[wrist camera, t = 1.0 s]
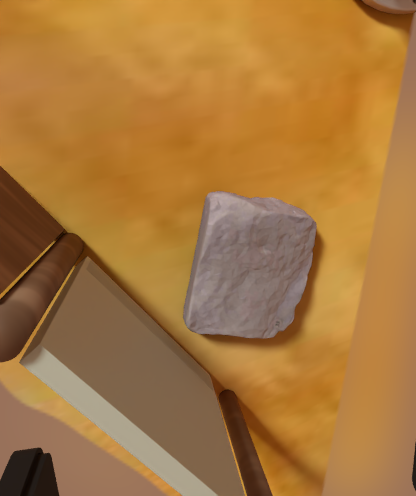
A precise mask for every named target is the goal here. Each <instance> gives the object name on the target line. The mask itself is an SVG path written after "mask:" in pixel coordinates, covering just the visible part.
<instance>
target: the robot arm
mask: <svg viewBox="0 0 416 496" xmlns="http://www.w3.org/2000/svg"><path fill="white" fill-rule="evenodd" d="M361 1H363V2H364V3H365V4H367V5H369V6H371V7H373V8H375V9H377V10H379V11H383V12H387V13H391V14H409V13H414V12H416V0H361ZM412 481H413V485H414V488H415V490H416V444H415V455H414V465H413V474H412ZM0 496H59V492H58V487H57V482H56V477H55V472H54V468H53V462H52V457H51V455H50V453H45V454H43V451H42V449H41V448H33V449H27V450H20V451H15V452H13V454H12V455H11V457H10V460H9V462H8V464H7V466H6V468H5V471H4V473H3V475H2V478H1V480H0Z"/></svg>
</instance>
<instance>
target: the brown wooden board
mask: <svg viewBox="0 0 416 496" xmlns="http://www.w3.org/2000/svg"><path fill="white" fill-rule="evenodd" d="M64 230H65V229H64V228H63V227H62V226H61V225H60V224H59V223H58V222H57V221H56V220H55V219H54V218H53V217H52V216H51V215H50V214H48V213H47V212H46V211H45V210H44V209H43V208H42V207H41V206H40V205H39V204H38V203H37V202H36V201H35V200H34V199H33V198H32V197H31V196H30V195H29V194H28V193H27V192H26V191H25V190H24V189H23V188H22V187H21V186H20V185H19V184H18V183H17V182H16V181H15V180H14V179H13V178H12V177H11V176H10V175H9V174H8V173H7V172H6V171H5V170H4V169H3V168H2V167H1V166H0V294H1V293H2V292H3V291H4V290H5V289H6V288H7V287H8V286H9V285H10V284H11V283H12V282H13V281H14V280H15V279H16V278H17V277H18V276H19V275H20V274H21V273H22V272H23V271H24V270H25V269H26V268H27V267H28V266H29V265H30V264H31V263H32V262H33V261H34V260H35V259H36V258H37V257H38V256H39V255H40V254H41V253H42V252H43V251H44V250H45V249H46V248H47V247H48V246H49V245H50V244H51V243H52V242H53V241H54V240H55V239H56V238H57V237H58V236H59V235H60V234H61V233H62V232H63V231H64ZM83 247H84V244H83V241H82V239H81V238H80V237H79V236H78V235H76V234H73V233H67V234H64V235H62V236H61V237H60V238H59V239H58V240H57V241H56V242H55V243H54V244H53V245H52V246H51V247H50V248H49V249H48V250H47V251H46V252H45V254H44V255H43V256H42V257H41V258H40V259H39V260H38V261H37V262H36V263H35V264H34V265H33V266H32V267H31V268H30V269H29V270H28V271H27V272H26V273H25V274H24V275H23V276H22V277H21V278H20V279H19V281H18V282H17V283H16V284H15V285H14V286H13V287H12V288H11V289H10V290H9V291H8V292H7V293H6V294H5V295H4V296H3V297H2V298H1V299H0V362H6V361H9V360H11V359H13V358H15V357H16V356H17V355H18V354H19V353H20V352H21V350H22V349H23V347H24V346H25V344H26V342H27V341H28V339H29V337H30V336H31V334H32V332H33V331H34V329H35V328H36V326H37V324H38V323H39V321H40V319H41V318H42V316H43V315H44V313H45V311H46V310H47V308H48V306H49V305H50V303H51V301H52V300H53V298H54V297H55V295H56V293H57V292H58V290H59V288H60V287H61V285H62V284H63V282H64V280H65V279H66V277H67V275H68V274H69V272H70V271H71V269H72V267H73V266H74V264H75V262H76V261H77V259H78V257H79V256H80V254H81V253H82V251H83ZM219 402H220V405H221V409H222V412H223V415H224V419H225V422H226V426H227V429H228V432H229V436H230V439H231V443H232V446H233V449H234V453H235V456H236V459H237V463H238V466H239V470H240V473H241V476H242V480H243V483H244V486H245V490H246V493H247V496H272V493H271V490H270V488H269V485H268V482H267V479H266V477H265V474H264V471H263V469H262V466H261V463H260V460H259V458H258V455H257V452H256V450H255V447H254V444H253V441H252V439H251V436H250V433H249V431H248V428H247V425H246V422H245V420H244V417H243V414H242V412H241V409H240V406H239V404H238V401H237V398H236V395H235V393H234V392H233V391H231V390H225V391H223V392H222V393H221V394H220V395H219Z"/></svg>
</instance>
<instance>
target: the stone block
mask: <svg viewBox="0 0 416 496" xmlns="http://www.w3.org/2000/svg"><path fill="white" fill-rule="evenodd" d="M315 234H316V222H314V220H313V219H312V218H311V217H310V216H309V215H308V214H307V213H306V212H305V211H303V210H302V209H300V208H297V207H295V206H293V205H289V204H287V203H284V202H283V201H281V200H278V199H275V198H259V197H255V198H246V197H243V196H239V195H236V194H234V193H229V192H223V191H219V192H218V191H217V192H211V193H209V194H208V195H207V196H206V199H205V205H204V209H203V215H202V220H201V225H200V230H199V235H198V240H197V245H196V250H195V255H194V260H193V265H192V270H191V275H190V281H189V286H188V290H187V295H186V299H185V305H184V315H183V318H184V321H185V324H186V326H187V328H188V329H189V330H191V331H192V332H195V333H199V334H212V335H214V334H221V335H230V336H239V337H244V338H262V339H263V338H271V337H274V336H275V335H276V334H277V333H278V331H284V330H285V329H286V328H287V327H288V326H289V325H290V324H291V323H292V322H293V319H294V310H295V307H296V305H297V304H298V303H299V301H300V300H301V297H302V295H303V292H304V289H305V286H306V282H307V278H308V277H307V275H308V273H309V270H310V267H311V264H312V259H313V251H312V249H313V247H314V246H315V244H314V242H315Z"/></svg>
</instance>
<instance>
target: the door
mask: <svg viewBox="0 0 416 496" xmlns="http://www.w3.org/2000/svg"><path fill="white" fill-rule="evenodd" d="M19 363H21V364H22V365H23V366H24V367H25V368H27V369H28V370H29V371H30V372H32V373H33V374H34V375H35V376H36V377H38V378H39V379H40V380H41V381H43V382H44V383H45V384H46V385H47V386H49V387H50V388H51V389H52V390H54V391H55V392H56V393H57V394H59V395H60V396H61V397H62V398H63V399H65V400H66V401H67V402H68V403H70V404H71V405H72V406H73V407H74V408H76V409H77V410H78V411H79V412H81V413H82V414H83V415H84V416H86V417H87V418H88V419H89V420H90V421H92V422H93V423H94V424H95V425H97V426H98V427H99V428H100V429H101V430H103V431H104V432H105V433H106V434H108V435H109V436H110V437H111V438H113V439H114V440H115V441H116V442H117V443H119V444H120V445H121V446H122V447H124V448H125V449H126V450H127V451H128V452H130V453H131V454H132V455H133V456H135V457H136V458H137V459H138V460H140V461H141V462H142V463H143V464H144V465H146V466H147V467H148V468H149V469H151V470H152V471H153V472H154V473H155V474H157V475H158V476H159V477H160V478H162V479H163V480H164V481H165V482H166V483H168V484H169V485H170V486H171V487H173V488H174V489H175V490H176V491H178V492H179V493H180V494H181V495H182V496H245V494H244V491H243V487H242V484H241V480H240V477H239V474H238V470H237V467H236V463H235V460H234V456H233V453H232V449H231V446H230V442H229V439H228V436H227V432H226V429H225V425H224V422H223V418H222V415H221V411H220V408H219V404H218V401H217V397H216V394H215V391H214V387H213V384H212V380H211V377H210V375H209V374H208V373H207V372H206V371H205V370H204V369H203V368H202V367H201V366H200V365H199V364H198V363H197V362H196V361H195V360H194V359H193V358H192V357H191V356H190V355H189V354H188V353H187V352H186V351H185V350H184V349H182V348H181V347H180V346H179V345H178V344H177V343H176V342H175V341H174V340H173V339H172V338H171V337H170V336H169V335H168V334H167V333H166V332H165V331H164V330H163V329H162V328H161V327H160V326H159V325H158V324H157V323H156V322H155V321H154V320H153V319H152V318H151V317H150V316H149V315H148V314H147V313H146V312H145V311H144V310H143V309H142V308H141V307H139V306H138V305H137V304H136V303H135V302H134V301H133V300H132V299H131V298H130V297H129V296H128V295H127V294H126V293H125V292H124V291H123V290H122V289H121V288H120V287H119V286H118V285H117V284H116V283H115V282H114V281H113V280H112V279H111V278H110V277H109V276H108V275H107V274H106V273H105V272H104V271H103V270H102V269H101V268H100V267H99V266H98V265H96V264H95V263H94V262H93V261H92V260H91V259H90V258H89V257H88V256H87V257H86V258H84V259H83V260H82V261H81V262H80V263H79V264H78V265H77V266H76V267H75V269H74V270H73V272H72V274H71V275H70V277H69V279H68V281H67V282H66V284H65V286H64V287H63V289H62V291H61V292H60V294H59V296H58V297H57V299H56V301H55V303H54V304H53V306H52V308H51V309H50V311H49V313H48V314H47V316H46V318H45V320H44V321H43V323H42V325H41V326H40V328H39V330H38V331H37V333H36V335H35V336H34V338H33V340H32V342H31V343H30V345H29V347H28V348H27V350H26V352H25V353H24V355H23V357H22V359H21V360H20V362H19Z"/></svg>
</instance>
